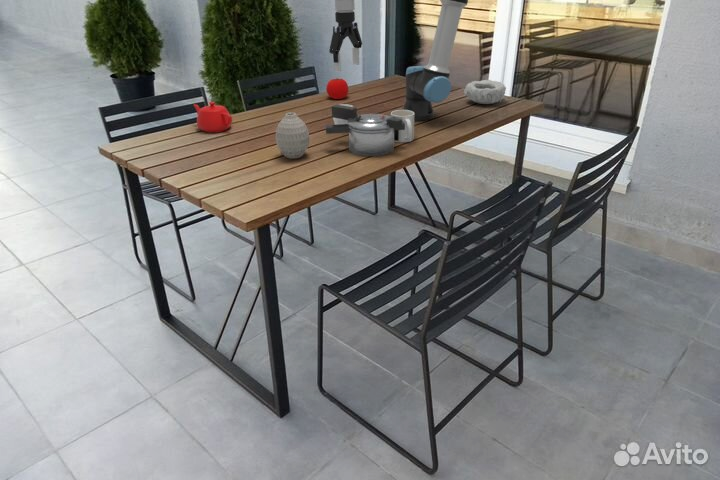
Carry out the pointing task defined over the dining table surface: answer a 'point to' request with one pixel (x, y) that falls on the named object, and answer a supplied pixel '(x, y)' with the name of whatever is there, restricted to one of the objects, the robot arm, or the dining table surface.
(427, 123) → the dining table surface
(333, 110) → the lid
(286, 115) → the vase
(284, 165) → the dining table surface
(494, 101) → the bowl
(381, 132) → the pot
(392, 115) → the mug
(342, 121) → the cup
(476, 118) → the dining table surface
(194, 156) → the dining table surface
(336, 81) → the tomato
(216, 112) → the teapot
